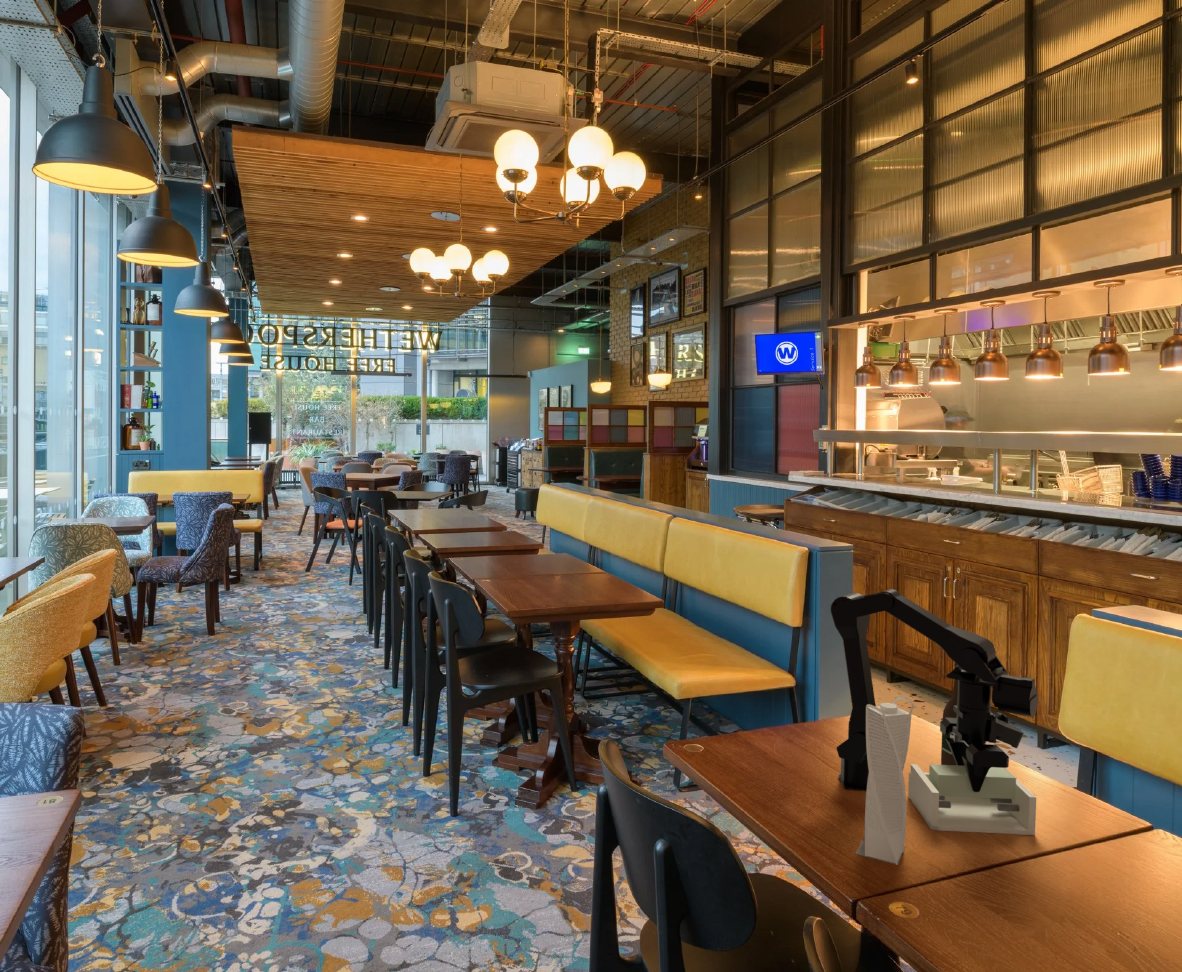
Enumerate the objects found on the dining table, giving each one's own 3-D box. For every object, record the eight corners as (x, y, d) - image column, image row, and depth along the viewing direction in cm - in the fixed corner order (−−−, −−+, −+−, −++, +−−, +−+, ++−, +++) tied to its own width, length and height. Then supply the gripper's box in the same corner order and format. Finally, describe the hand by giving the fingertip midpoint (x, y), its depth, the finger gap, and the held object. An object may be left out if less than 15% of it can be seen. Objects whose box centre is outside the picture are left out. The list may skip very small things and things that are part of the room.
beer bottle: (983, 779, 172) (987, 667, 171) (944, 775, 174) (948, 665, 173) (974, 765, 180) (978, 658, 179) (936, 762, 182) (940, 655, 180)
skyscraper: (914, 851, 142) (918, 693, 140) (905, 872, 135) (910, 706, 134) (864, 839, 146) (868, 685, 145) (853, 858, 139) (858, 697, 138)
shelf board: (937, 795, 152) (938, 774, 152) (928, 784, 157) (929, 764, 157) (1015, 799, 151) (1016, 778, 151) (1003, 787, 156) (1004, 767, 156)
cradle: (931, 829, 149) (932, 792, 149) (908, 796, 164) (909, 761, 163) (1035, 835, 148) (1036, 797, 147) (1002, 800, 162) (1003, 766, 162)
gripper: (1041, 723, 144) (1037, 810, 144) (998, 691, 162) (995, 768, 163) (975, 720, 145) (972, 806, 145) (940, 689, 163) (937, 765, 164)
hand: (970, 785), depth 154 cm, fingers closed on shelf board, 5 cm apart
